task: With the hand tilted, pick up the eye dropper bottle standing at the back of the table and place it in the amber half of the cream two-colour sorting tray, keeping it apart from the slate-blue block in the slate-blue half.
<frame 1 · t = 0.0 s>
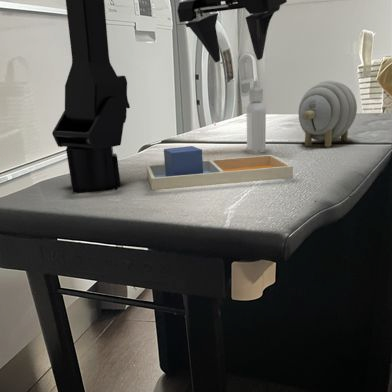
hand: (238, 60, 95), 15 cm above the table, tool pointing down, fingers open, 9 cm apart
slate block: (184, 181, 80), point 1 cm above the table, touching sorting tray
sorting tray: (216, 180, 82), on the table
toy sheep: (323, 144, 107), on the table
eye dropper bottle: (256, 152, 104), on the table
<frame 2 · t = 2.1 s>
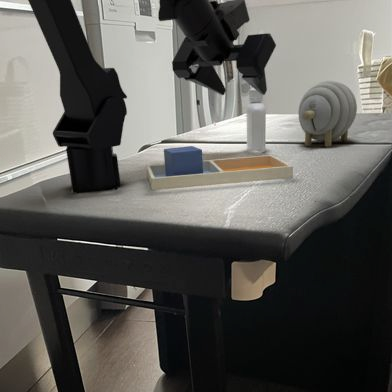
hand: (244, 92, 97), 10 cm above the table, tool tilted 45°, fingers open, 9 cm apart
nothing on the table moved.
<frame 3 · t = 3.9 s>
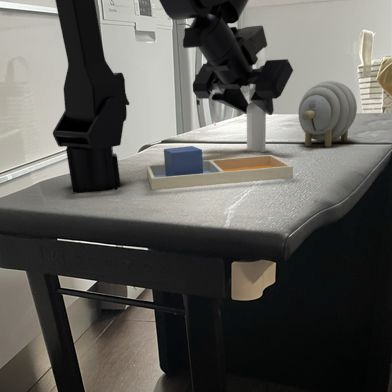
hand: (260, 112, 102), 7 cm above the table, tool tilted 45°, fingers closed on eye dropper bottle, 5 cm apart
eye dropper bottle: (256, 152, 104), on the table, touching gripper
everything else where it was.
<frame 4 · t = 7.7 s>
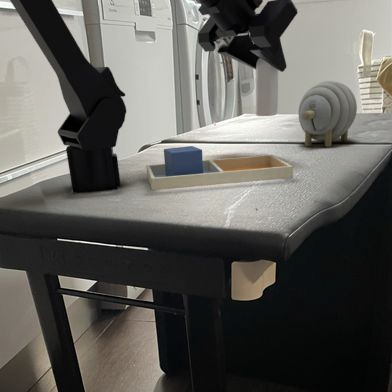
hand: (274, 69, 87), 14 cm above the table, tool tilted 45°, fingers closed on eye dropper bottle, 5 cm apart
eye dropper bottle: (266, 116, 90), point 7 cm above the table, touching gripper
everything else where it was.
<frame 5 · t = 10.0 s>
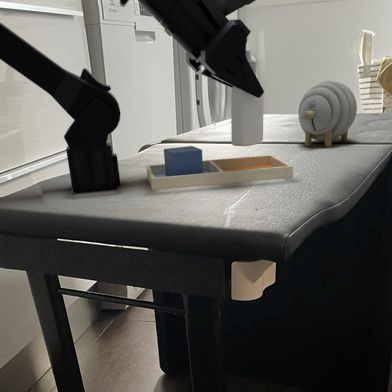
hand: (257, 94, 77), 11 cm above the table, tool tilted 45°, fingers closed on eye dropper bottle, 5 cm apart
eye dropper bottle: (247, 145, 80), point 5 cm above the table, touching gripper
everything else where it was.
when the fingers open (7 cm above the table, at t = 11.6 s): eye dropper bottle stays where it is, resting on sorting tray.
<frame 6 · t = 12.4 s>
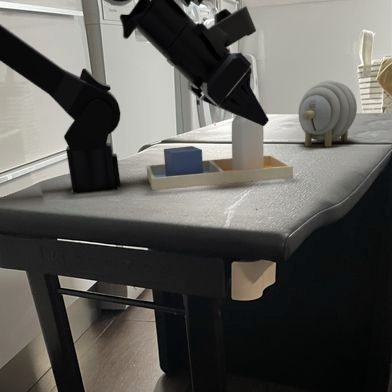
hand: (258, 120, 79), 8 cm above the table, tool tilted 45°, fingers open, 9 cm apart
eye dropper bottle: (248, 174, 82), resting on sorting tray
everything else where it was.
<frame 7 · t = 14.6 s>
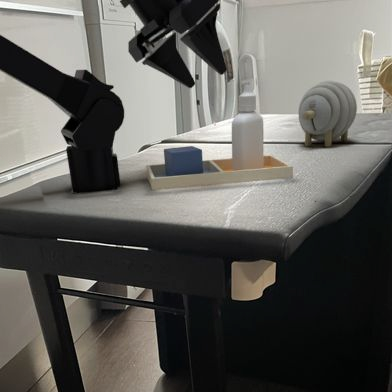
hand: (207, 79, 78), 13 cm above the table, tool tilted 35°, fingers open, 9 cm apart
nothing on the table moved.
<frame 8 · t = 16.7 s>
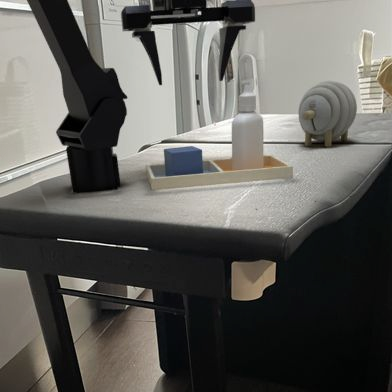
hand: (190, 83, 82), 13 cm above the table, tool pointing down, fingers open, 9 cm apart
nothing on the table moved.
at the end: eye dropper bottle inside the target area on the sorting tray (0.5 cm from its centre), point 0.4 cm above the sorting tray's base; eye dropper bottle tilted 0°; slate block moved 0.0 cm from its start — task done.
